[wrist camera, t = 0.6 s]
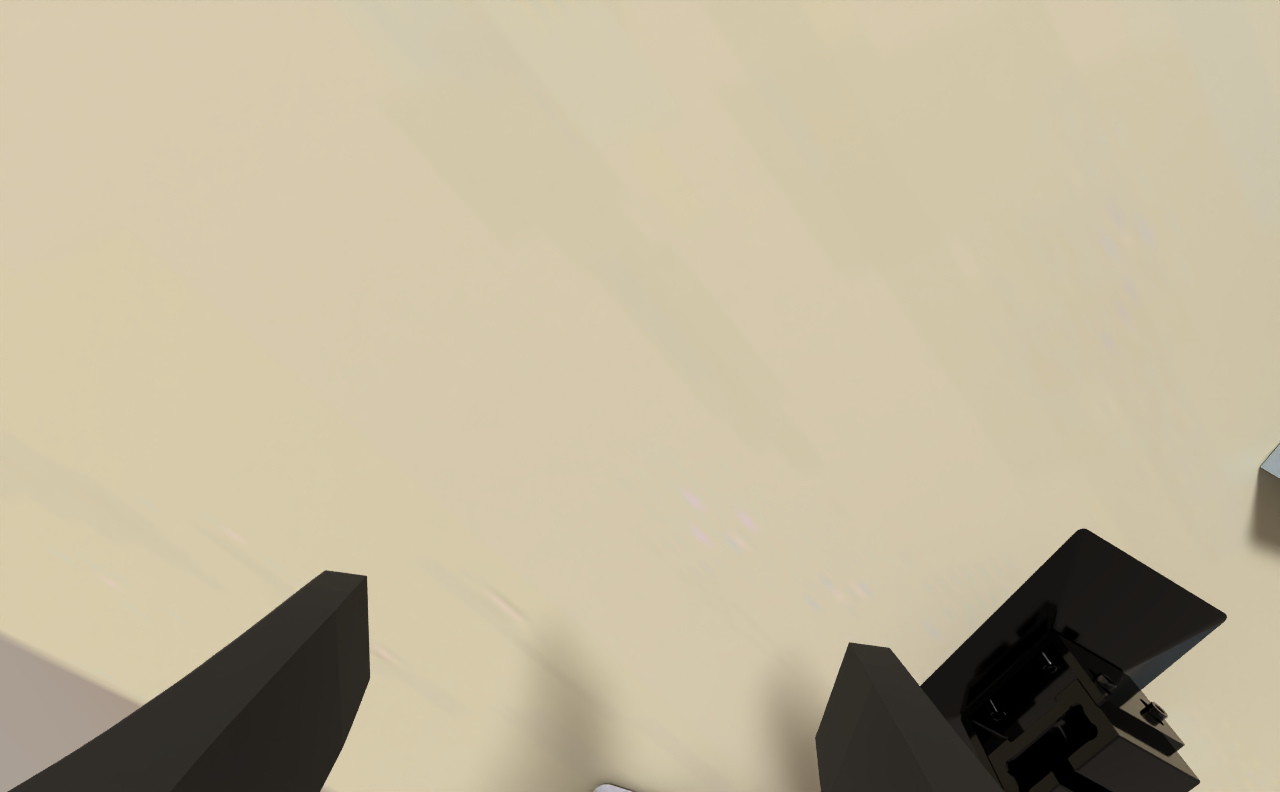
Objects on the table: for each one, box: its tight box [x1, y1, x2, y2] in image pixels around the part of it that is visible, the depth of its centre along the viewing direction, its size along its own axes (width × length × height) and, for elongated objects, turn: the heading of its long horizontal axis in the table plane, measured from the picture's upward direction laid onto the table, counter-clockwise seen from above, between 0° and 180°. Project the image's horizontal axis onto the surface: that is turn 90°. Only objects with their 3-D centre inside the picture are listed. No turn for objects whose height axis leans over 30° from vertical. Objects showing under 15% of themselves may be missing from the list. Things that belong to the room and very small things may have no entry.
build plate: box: [920, 529, 1227, 792], centre depth 22 cm, size 13×8×5 cm, turn 149°
